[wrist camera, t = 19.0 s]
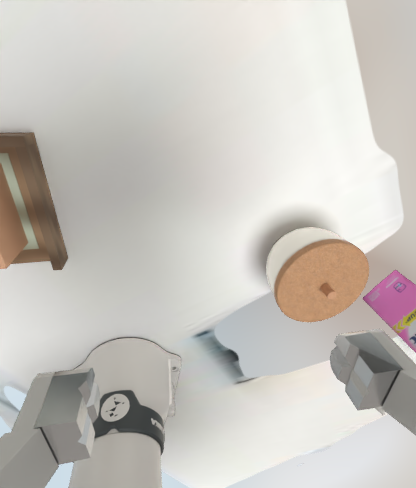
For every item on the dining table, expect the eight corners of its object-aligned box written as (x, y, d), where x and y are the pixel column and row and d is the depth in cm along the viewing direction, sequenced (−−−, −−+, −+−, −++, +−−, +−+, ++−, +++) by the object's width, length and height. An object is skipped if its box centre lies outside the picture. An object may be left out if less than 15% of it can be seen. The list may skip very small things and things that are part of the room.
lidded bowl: (320, 198, 40) (372, 232, 31) (339, 261, 46) (386, 305, 37) (242, 239, 41) (268, 283, 32) (270, 295, 48) (299, 347, 38)
